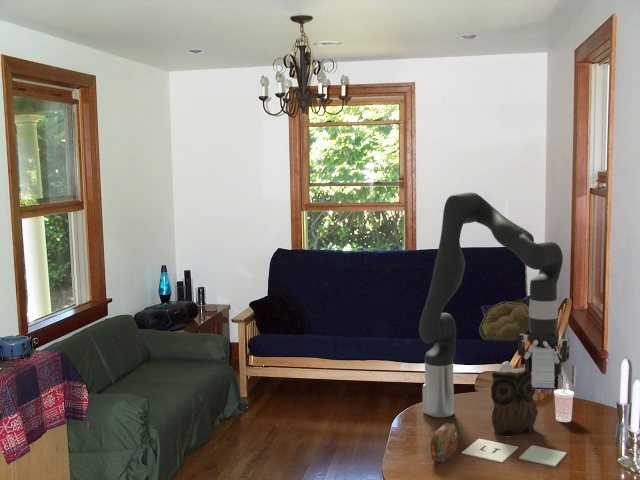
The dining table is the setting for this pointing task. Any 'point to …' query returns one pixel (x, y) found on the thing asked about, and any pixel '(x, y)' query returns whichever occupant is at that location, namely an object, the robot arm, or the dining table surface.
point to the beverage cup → (563, 403)
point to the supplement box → (542, 369)
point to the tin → (444, 442)
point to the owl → (513, 402)
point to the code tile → (490, 450)
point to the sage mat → (543, 455)
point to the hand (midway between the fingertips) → (542, 373)
